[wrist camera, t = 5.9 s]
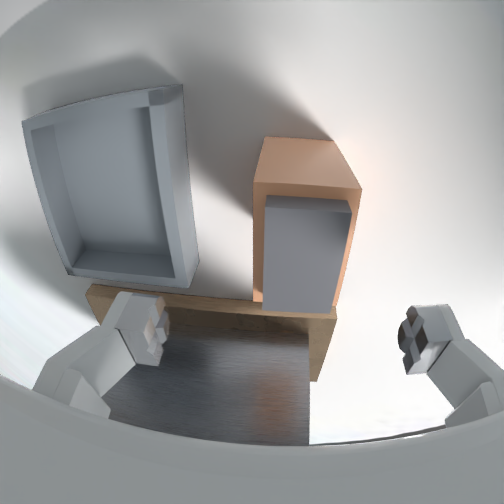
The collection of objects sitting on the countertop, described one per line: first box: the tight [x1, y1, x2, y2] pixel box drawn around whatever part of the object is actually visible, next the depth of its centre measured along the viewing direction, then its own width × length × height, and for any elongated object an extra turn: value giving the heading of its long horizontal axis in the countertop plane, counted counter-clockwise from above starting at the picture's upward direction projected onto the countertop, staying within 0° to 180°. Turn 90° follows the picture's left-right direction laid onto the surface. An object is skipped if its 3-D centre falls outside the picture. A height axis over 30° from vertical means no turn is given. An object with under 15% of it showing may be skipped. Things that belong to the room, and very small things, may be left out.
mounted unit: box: [85, 284, 337, 446], centre depth 20 cm, size 22×10×16 cm, turn 90°
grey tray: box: [22, 84, 199, 288], centre depth 17 cm, size 11×13×3 cm
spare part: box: [253, 137, 362, 314], centre depth 15 cm, size 4×6×8 cm, turn 0°
